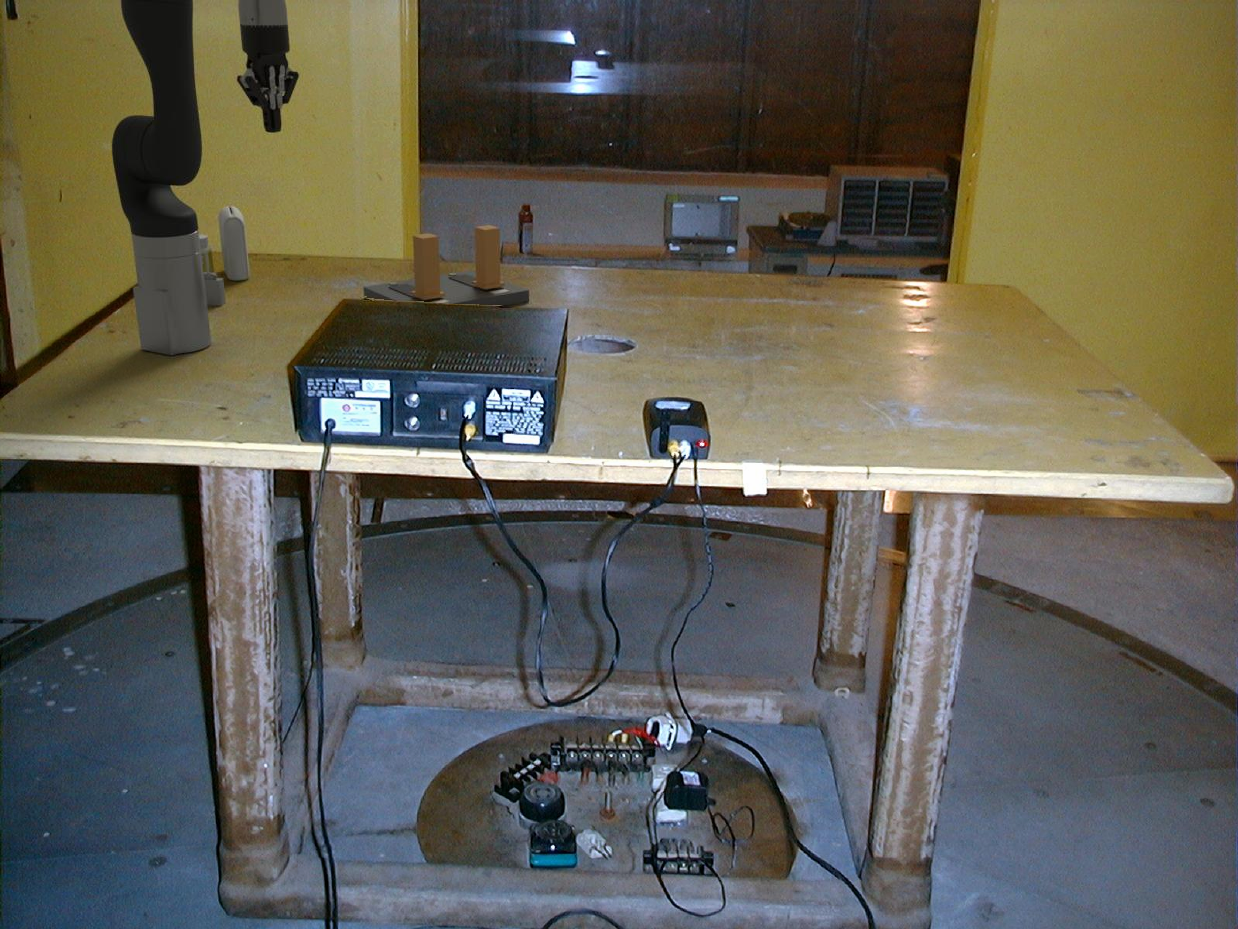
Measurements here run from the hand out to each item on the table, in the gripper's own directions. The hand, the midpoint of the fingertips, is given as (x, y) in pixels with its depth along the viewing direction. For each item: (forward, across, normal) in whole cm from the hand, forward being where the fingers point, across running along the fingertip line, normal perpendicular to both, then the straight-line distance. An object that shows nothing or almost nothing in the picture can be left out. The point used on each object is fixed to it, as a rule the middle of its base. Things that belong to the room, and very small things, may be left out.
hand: (273, 131), depth 204 cm
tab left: (+24, +1, -29) cm, 38 cm away
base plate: (+27, +8, -28) cm, 40 cm away
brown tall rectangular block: (+24, +12, -34) cm, 44 cm away
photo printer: (+27, +4, +15) cm, 31 cm away
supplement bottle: (+27, -4, +16) cm, 32 cm away
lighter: (+27, -14, +6) cm, 31 cm away
